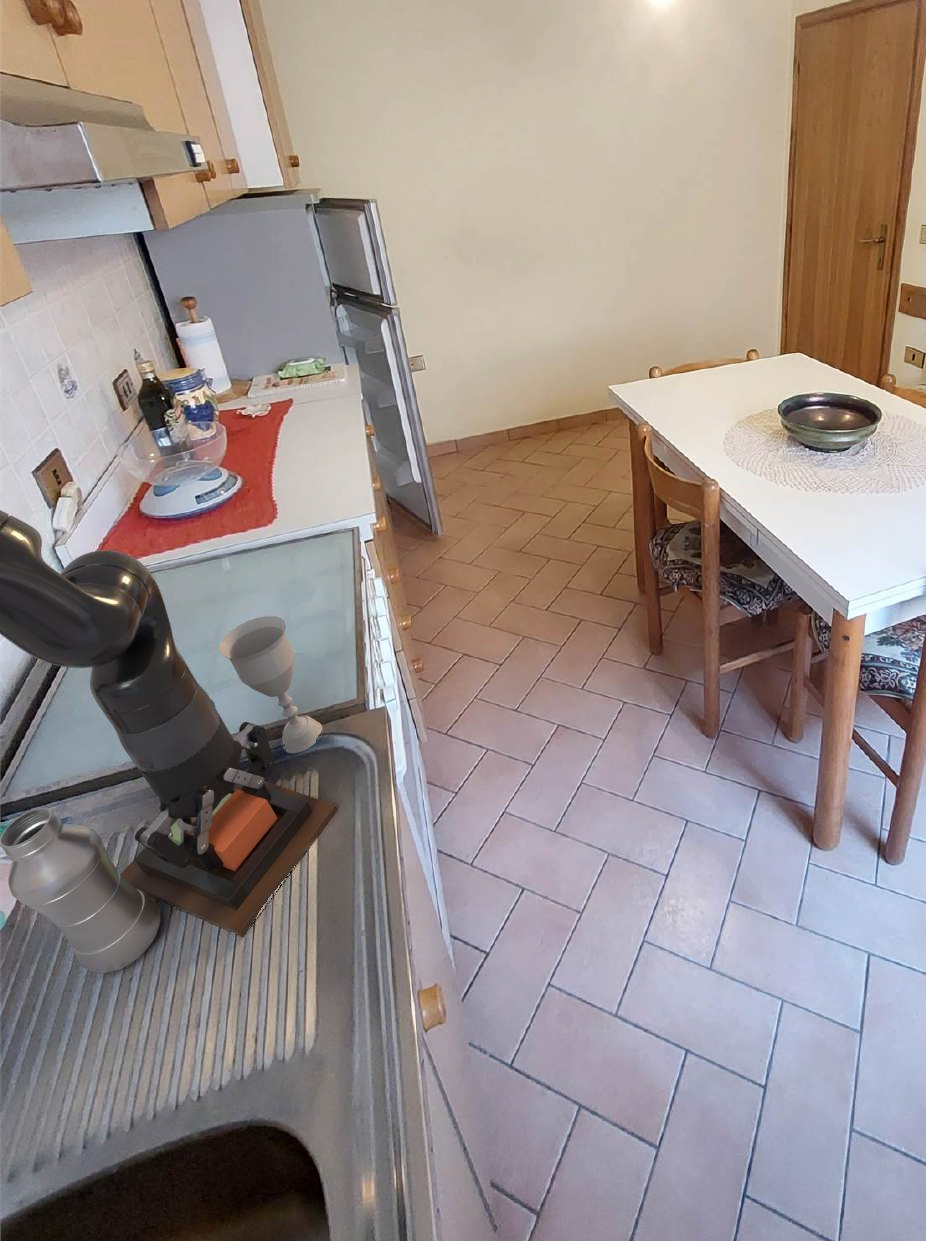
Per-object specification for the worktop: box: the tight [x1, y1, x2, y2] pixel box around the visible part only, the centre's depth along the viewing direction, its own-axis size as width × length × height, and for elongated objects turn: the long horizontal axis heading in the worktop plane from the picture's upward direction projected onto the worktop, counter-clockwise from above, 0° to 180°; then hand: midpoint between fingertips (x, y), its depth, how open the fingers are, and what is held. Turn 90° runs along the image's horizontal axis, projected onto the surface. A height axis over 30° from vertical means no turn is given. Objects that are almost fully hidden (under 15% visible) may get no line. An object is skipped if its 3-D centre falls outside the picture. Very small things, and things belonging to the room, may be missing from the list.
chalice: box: [218, 615, 323, 754], centre depth 84 cm, size 7×7×18 cm
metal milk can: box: [0, 807, 161, 974], centre depth 63 cm, size 6×7×20 cm
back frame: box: [120, 780, 338, 938], centre depth 75 cm, size 18×14×3 cm
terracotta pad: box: [209, 790, 277, 871], centre depth 73 cm, size 6×4×4 cm
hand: (239, 835), depth 73 cm, fingers closed on terracotta pad, 6 cm apart
